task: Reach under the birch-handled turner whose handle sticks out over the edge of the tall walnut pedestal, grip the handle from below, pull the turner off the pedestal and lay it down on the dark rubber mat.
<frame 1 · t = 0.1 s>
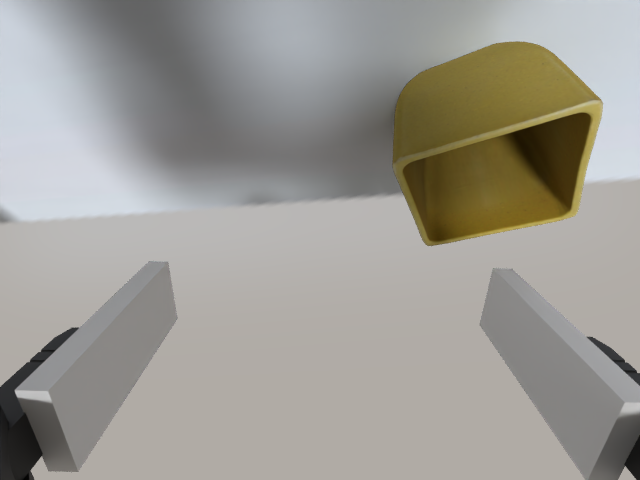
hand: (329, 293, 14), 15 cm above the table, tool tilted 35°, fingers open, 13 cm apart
flower pot: (459, 86, 23), on the table
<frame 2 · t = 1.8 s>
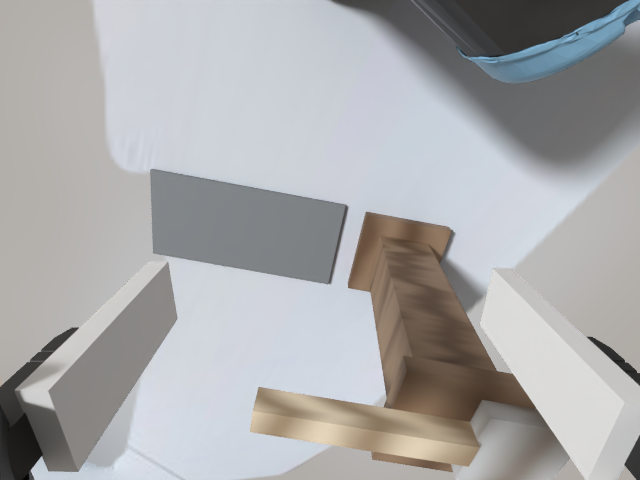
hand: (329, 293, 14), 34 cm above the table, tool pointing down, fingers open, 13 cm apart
pedestal: (395, 256, 52), on the table
mat: (245, 229, 51), on the table
turner: (452, 429, 26), point 28 cm above the table, touching pedestal
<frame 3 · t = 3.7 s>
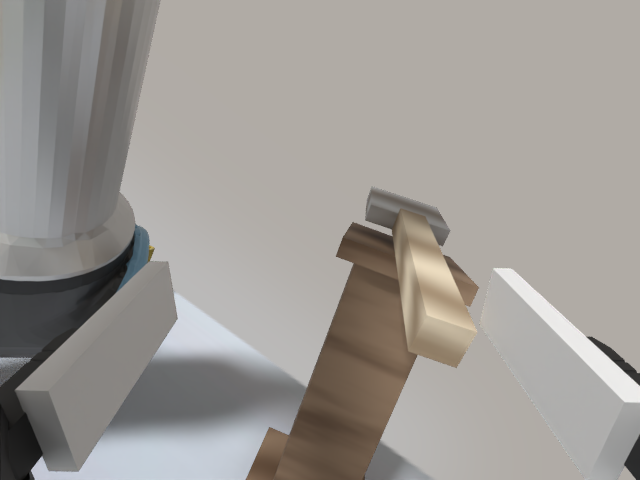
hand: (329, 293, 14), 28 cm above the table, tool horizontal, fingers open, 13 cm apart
turner: (404, 237, 29), point 29 cm above the table, tilted 11°, touching pedestal
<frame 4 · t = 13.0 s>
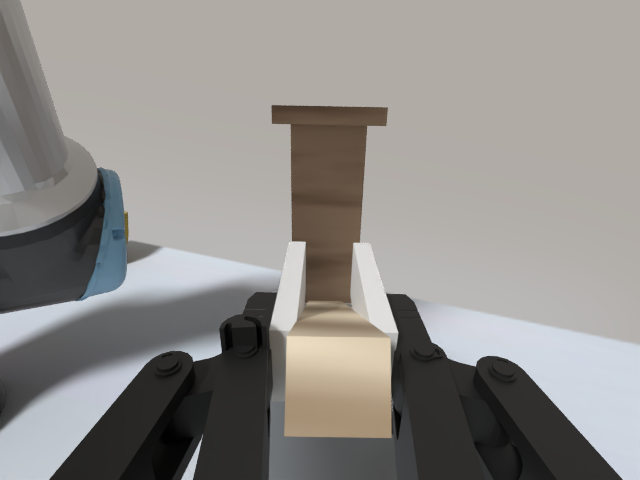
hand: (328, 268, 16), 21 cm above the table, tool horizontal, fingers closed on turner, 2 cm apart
pedestal: (322, 340, 44), on the table
turner: (324, 333, 22), point 14 cm above the table, tilted 28°, touching gripper
when the fingers open (11 cm above the table, at t = 15.4 s): turner drops 4 cm, resting on mat.
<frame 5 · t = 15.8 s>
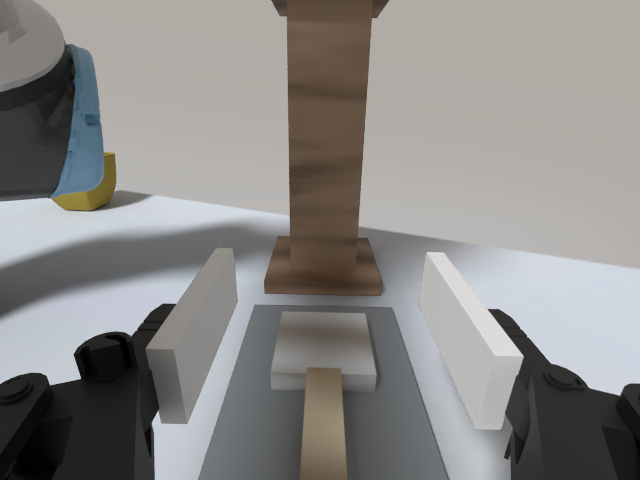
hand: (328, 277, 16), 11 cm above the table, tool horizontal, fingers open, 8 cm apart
flower pot: (87, 208, 62), on the table
pedestal: (322, 267, 41), on the table
mat: (323, 441, 21), on the table
turner: (323, 402, 23), point 1 cm above the table, touching mat
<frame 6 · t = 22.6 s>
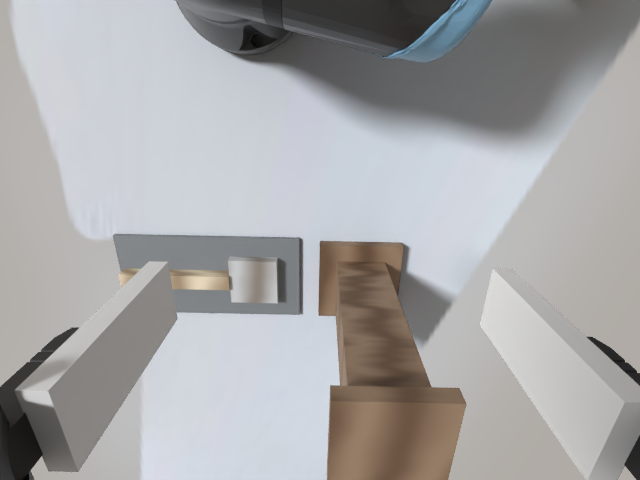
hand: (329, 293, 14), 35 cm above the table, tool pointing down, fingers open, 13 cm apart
pedestal: (358, 277, 53), on the table
mat: (211, 275, 53), on the table
turner: (225, 277, 53), point 1 cm above the table, touching mat
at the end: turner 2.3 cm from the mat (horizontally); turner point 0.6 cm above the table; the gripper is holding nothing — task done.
